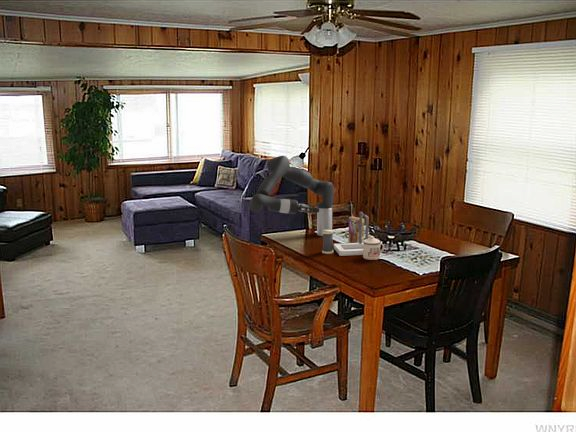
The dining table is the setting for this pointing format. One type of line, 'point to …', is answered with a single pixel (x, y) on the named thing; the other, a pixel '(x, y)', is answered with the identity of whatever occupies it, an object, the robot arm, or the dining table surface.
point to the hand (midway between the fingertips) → (316, 209)
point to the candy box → (355, 230)
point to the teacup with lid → (372, 248)
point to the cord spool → (327, 241)
